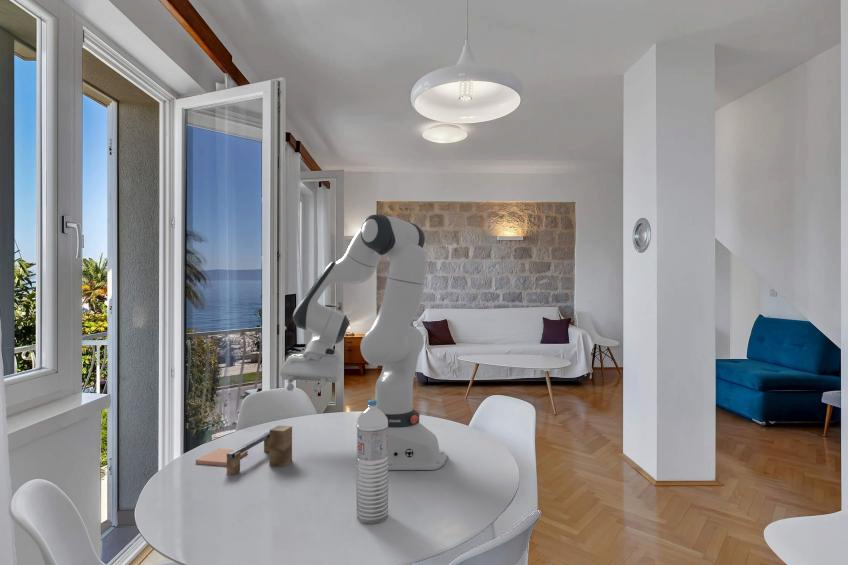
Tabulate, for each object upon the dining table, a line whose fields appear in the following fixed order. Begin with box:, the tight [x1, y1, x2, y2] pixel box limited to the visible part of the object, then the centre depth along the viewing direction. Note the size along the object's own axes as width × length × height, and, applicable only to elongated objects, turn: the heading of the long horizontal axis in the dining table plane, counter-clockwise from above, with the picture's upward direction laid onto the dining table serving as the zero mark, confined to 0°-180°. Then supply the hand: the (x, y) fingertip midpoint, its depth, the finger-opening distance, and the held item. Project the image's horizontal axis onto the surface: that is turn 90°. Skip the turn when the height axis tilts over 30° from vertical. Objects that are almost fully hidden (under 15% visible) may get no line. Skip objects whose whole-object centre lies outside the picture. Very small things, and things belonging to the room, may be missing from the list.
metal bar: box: [228, 430, 270, 459], centre depth 130 cm, size 1×21×1 cm, turn 168°
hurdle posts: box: [226, 431, 270, 476], centre depth 130 cm, size 3×20×5 cm, turn 168°
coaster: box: [195, 448, 248, 467], centre depth 132 cm, size 10×10×1 cm
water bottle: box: [356, 399, 389, 525], centre depth 97 cm, size 7×7×25 cm
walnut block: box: [268, 425, 293, 468], centre depth 128 cm, size 4×4×10 cm
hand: (302, 390), depth 142 cm, fingers open, 8 cm apart
